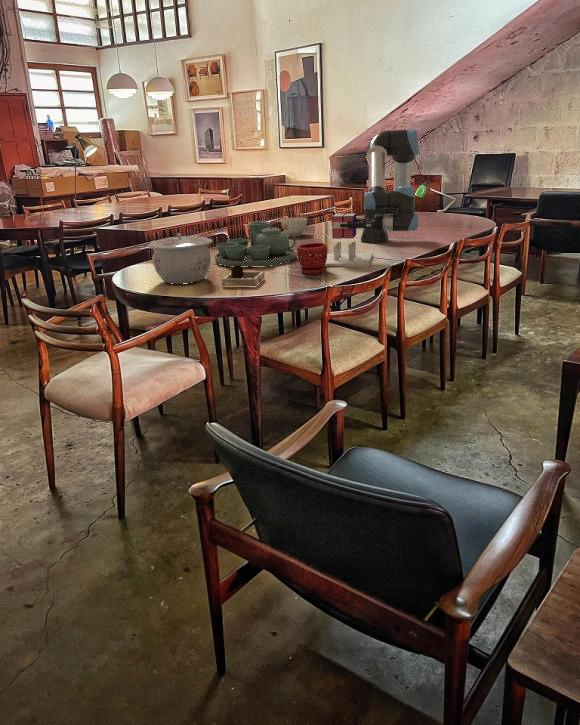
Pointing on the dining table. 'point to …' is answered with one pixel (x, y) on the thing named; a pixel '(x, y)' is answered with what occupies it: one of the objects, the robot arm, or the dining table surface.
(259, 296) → the dining table surface
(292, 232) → the bowl
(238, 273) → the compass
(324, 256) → the plant pot
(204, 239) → the chamber pot
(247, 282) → the watch display frame
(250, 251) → the tea set
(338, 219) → the puzzle cube
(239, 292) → the dining table surface
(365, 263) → the standoff plate
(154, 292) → the dining table surface
